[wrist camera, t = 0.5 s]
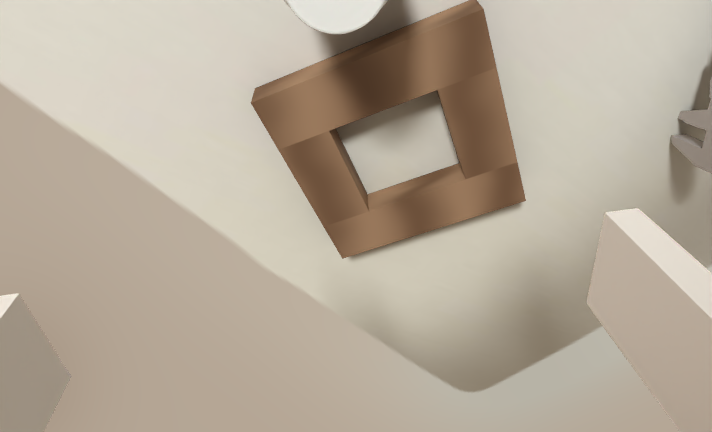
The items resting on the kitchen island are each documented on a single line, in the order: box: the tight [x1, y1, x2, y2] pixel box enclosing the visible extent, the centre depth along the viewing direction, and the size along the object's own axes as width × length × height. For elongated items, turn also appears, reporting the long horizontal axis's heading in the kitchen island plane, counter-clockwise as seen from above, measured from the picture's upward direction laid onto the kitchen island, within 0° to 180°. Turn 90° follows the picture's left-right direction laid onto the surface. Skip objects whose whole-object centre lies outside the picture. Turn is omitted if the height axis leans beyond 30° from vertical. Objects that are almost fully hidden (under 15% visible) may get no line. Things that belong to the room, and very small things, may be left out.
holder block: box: [251, 0, 526, 259], centre depth 32 cm, size 14×14×2 cm
